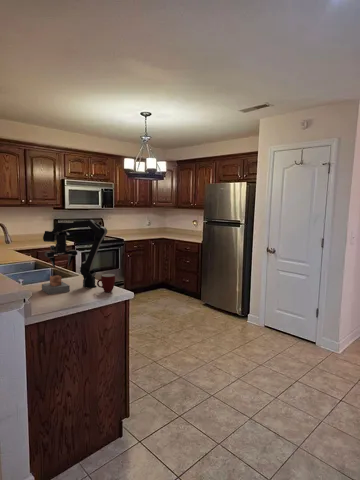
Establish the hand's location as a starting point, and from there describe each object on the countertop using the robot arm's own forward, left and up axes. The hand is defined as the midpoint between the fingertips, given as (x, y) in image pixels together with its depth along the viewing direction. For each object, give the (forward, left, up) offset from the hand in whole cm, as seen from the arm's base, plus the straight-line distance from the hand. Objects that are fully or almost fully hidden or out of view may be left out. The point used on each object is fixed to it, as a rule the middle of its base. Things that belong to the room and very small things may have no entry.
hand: (61, 266), depth 197 cm
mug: (-16, +28, -12) cm, 34 cm away
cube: (+7, +9, -8) cm, 14 cm away
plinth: (+7, +9, -12) cm, 17 cm away
